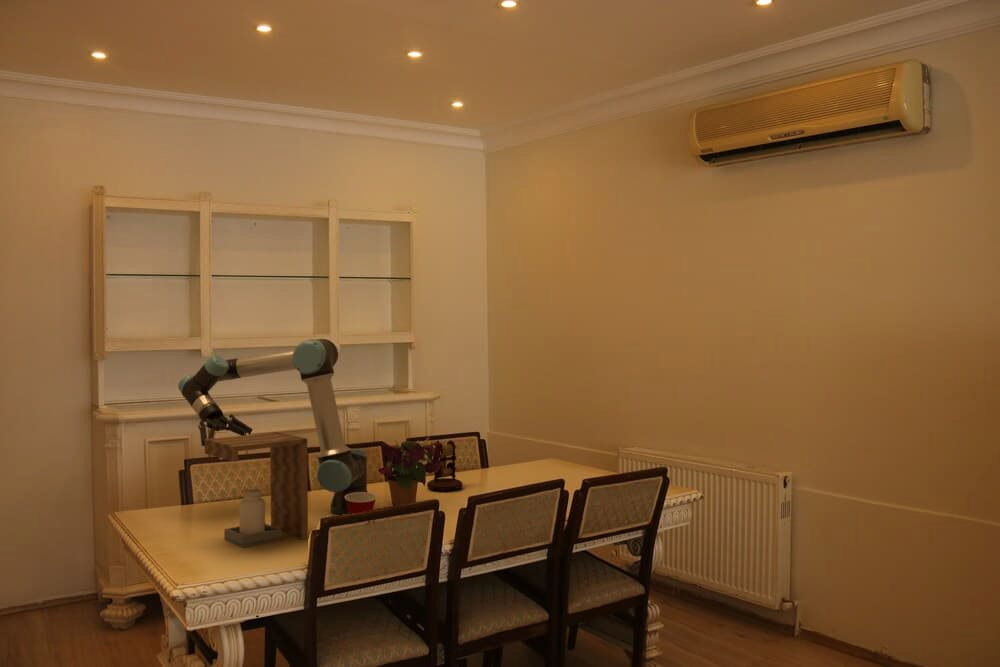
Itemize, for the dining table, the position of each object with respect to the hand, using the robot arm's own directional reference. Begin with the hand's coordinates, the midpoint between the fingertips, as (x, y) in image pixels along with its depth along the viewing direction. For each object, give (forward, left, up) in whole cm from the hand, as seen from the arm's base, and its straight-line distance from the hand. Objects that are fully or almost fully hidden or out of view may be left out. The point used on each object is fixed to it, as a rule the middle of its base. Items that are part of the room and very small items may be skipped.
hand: (239, 452), depth 297 cm
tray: (-14, +22, -24) cm, 35 cm away
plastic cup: (-45, +6, -25) cm, 52 cm away
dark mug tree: (-60, -65, -25) cm, 92 cm away
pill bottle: (-14, +22, -24) cm, 35 cm away
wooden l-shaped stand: (-15, +20, -24) cm, 35 cm away
